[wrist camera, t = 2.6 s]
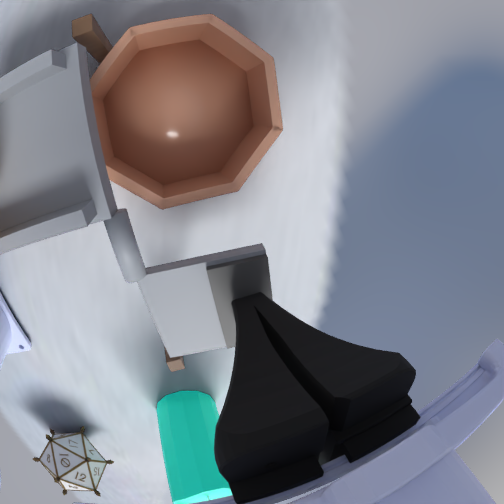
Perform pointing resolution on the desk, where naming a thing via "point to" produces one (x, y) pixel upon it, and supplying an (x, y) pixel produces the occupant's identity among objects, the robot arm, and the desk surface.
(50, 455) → the game die
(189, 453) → the candle
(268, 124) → the bowl
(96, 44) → the lever stand
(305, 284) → the desk surface
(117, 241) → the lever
